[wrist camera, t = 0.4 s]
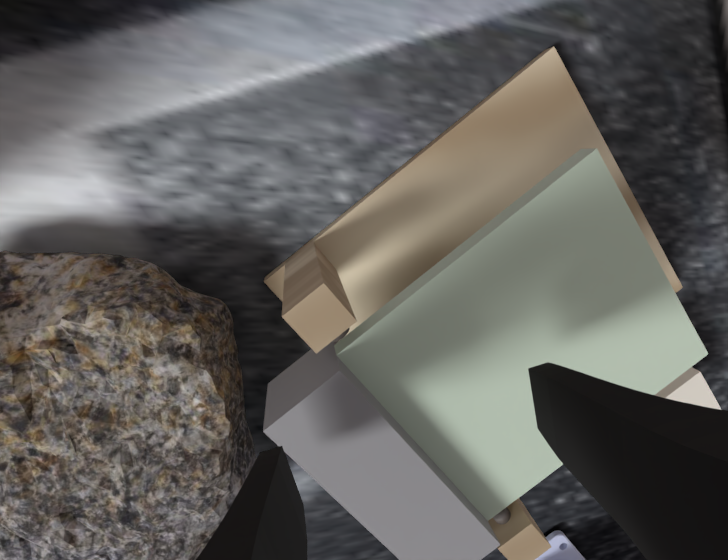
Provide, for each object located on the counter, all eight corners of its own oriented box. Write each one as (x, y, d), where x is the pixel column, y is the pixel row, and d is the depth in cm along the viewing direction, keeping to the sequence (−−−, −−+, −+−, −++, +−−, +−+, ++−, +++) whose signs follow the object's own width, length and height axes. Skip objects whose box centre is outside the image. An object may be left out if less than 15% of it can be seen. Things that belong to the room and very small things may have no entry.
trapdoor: (667, 335, 19) (736, 367, 16) (414, 528, 19) (435, 593, 16) (561, 149, 16) (621, 147, 13) (267, 383, 16) (262, 431, 13)
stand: (670, 283, 24) (832, 337, 17) (435, 464, 25) (494, 589, 17) (544, 50, 20) (688, -11, 12) (264, 277, 20) (250, 341, 13)
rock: (266, 506, 24) (236, 228, 20) (262, 622, 18) (217, 253, 14) (4, 549, 22) (-82, 247, 18) (-103, 698, 16) (-267, 287, 12)
